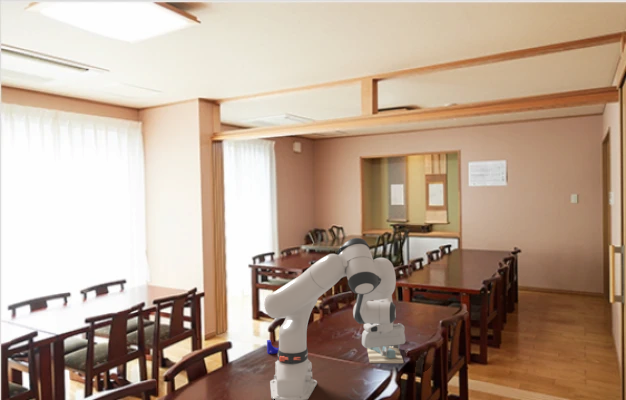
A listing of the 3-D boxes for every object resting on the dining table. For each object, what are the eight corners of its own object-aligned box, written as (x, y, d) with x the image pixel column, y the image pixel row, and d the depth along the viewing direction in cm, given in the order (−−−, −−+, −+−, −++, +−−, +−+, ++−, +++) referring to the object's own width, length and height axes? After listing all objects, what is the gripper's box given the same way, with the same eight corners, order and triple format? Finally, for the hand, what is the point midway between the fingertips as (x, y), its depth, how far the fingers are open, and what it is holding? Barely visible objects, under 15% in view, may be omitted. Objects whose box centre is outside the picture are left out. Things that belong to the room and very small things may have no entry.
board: (403, 363, 196) (403, 351, 196) (369, 363, 197) (369, 351, 197) (397, 347, 216) (397, 337, 216) (366, 347, 217) (366, 337, 217)
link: (367, 347, 214) (367, 341, 214) (374, 345, 216) (374, 339, 216) (388, 358, 198) (388, 352, 198) (396, 357, 200) (396, 350, 200)
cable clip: (290, 348, 219) (290, 336, 219) (292, 351, 214) (292, 339, 214) (266, 351, 215) (266, 339, 215) (268, 354, 211) (268, 342, 211)
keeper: (384, 354, 207) (384, 342, 207) (393, 347, 216) (393, 336, 216) (392, 356, 205) (392, 344, 205) (401, 349, 214) (401, 337, 214)
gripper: (401, 321, 206) (401, 350, 206) (360, 325, 201) (360, 355, 201) (407, 324, 200) (407, 355, 200) (365, 329, 195) (365, 360, 195)
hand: (383, 355), depth 200 cm, fingers closed
